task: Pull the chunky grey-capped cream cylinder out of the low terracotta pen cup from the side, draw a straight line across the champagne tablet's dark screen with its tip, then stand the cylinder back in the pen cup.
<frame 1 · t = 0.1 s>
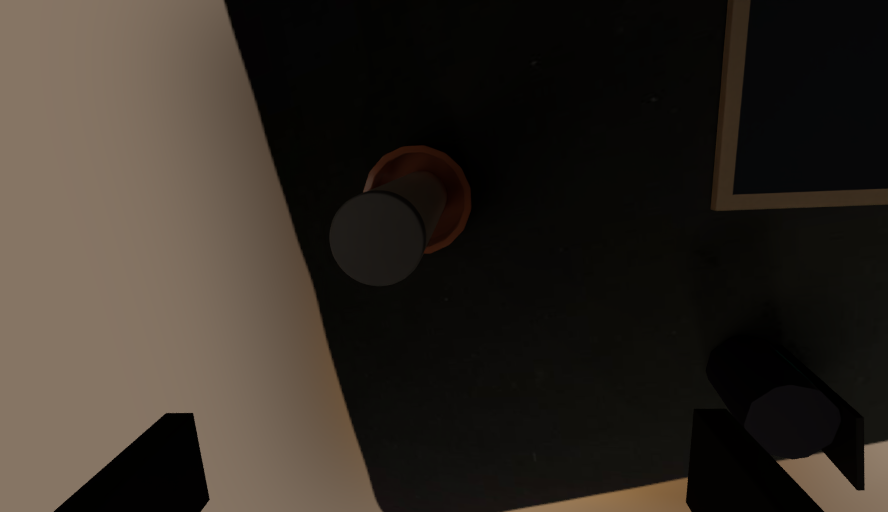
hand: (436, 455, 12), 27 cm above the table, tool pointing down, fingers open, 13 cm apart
pen cup: (422, 195, 37), on the table
tablet: (847, 36, 33), on the table
grey-capped cream cylinder: (421, 196, 37), point 1 cm above the table, touching pen cup
speaker: (738, 371, 39), on the table
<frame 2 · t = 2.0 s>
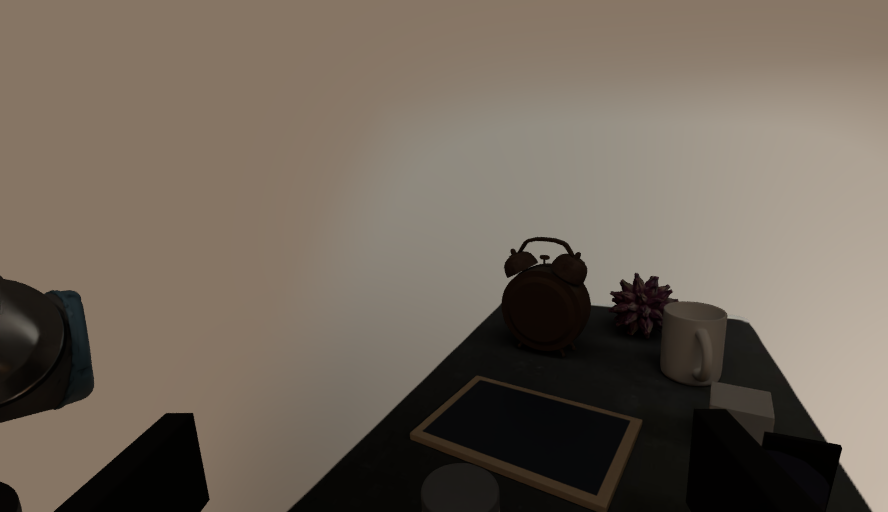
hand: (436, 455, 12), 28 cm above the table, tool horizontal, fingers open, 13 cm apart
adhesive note: (735, 445, 55), on the table
tablet: (526, 432, 59), on the table
alarm clock: (545, 350, 82), on the table
flower: (640, 335, 86), on the table
mug: (692, 381, 69), on the table
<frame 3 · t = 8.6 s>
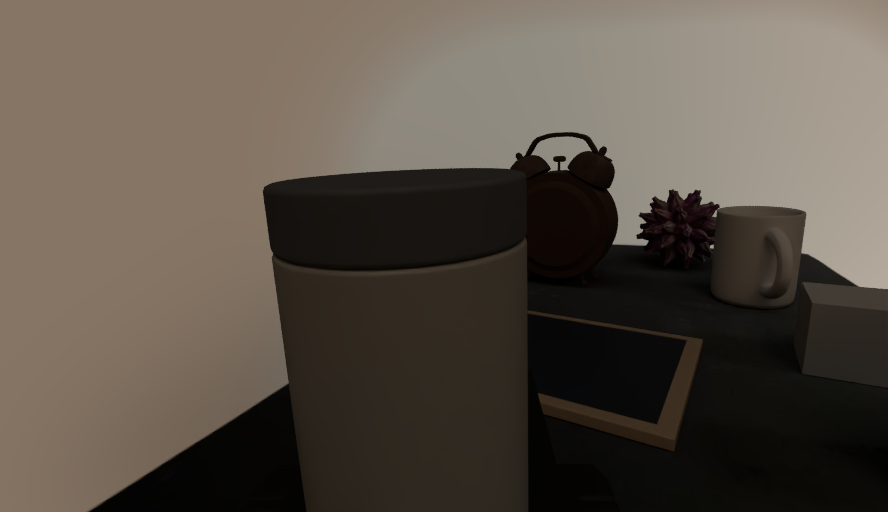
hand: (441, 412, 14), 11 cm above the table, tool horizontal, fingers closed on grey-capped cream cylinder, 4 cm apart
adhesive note: (842, 367, 38), on the table
tablet: (542, 357, 42), on the table
alarm clock: (559, 281, 65), on the table
flower: (676, 267, 69), on the table
mug: (756, 305, 53), on the table
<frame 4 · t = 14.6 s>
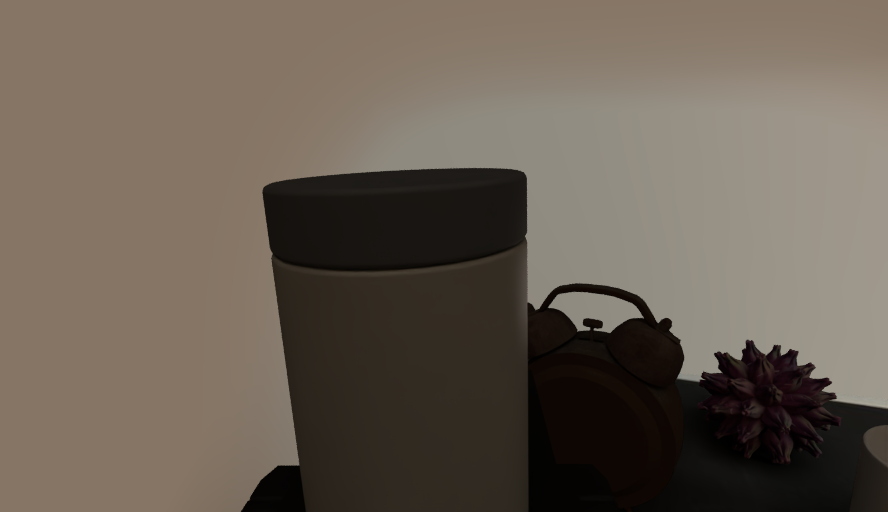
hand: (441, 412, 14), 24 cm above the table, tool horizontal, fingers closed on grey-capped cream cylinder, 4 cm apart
alarm clock: (590, 492, 43), on the table
flower: (757, 451, 48), on the table
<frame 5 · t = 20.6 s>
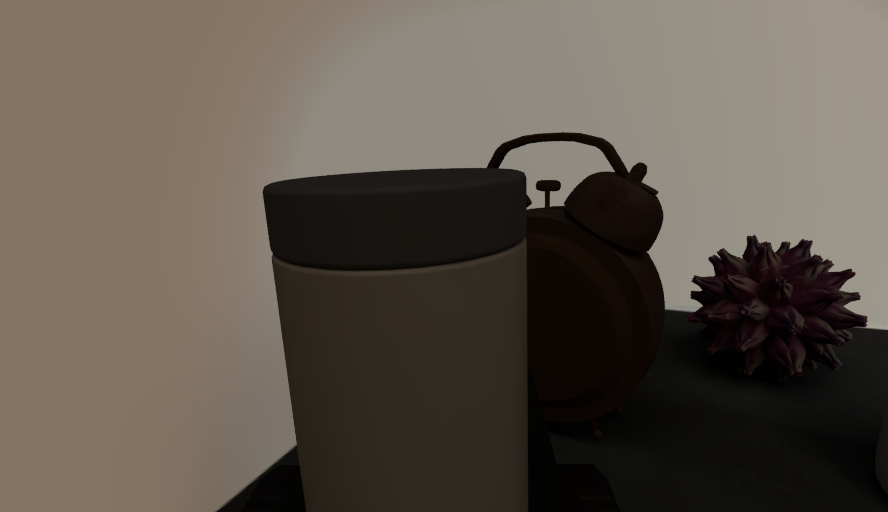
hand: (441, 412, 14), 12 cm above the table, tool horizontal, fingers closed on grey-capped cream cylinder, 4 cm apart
alarm clock: (549, 412, 35), on the table
flower: (760, 373, 39), on the table
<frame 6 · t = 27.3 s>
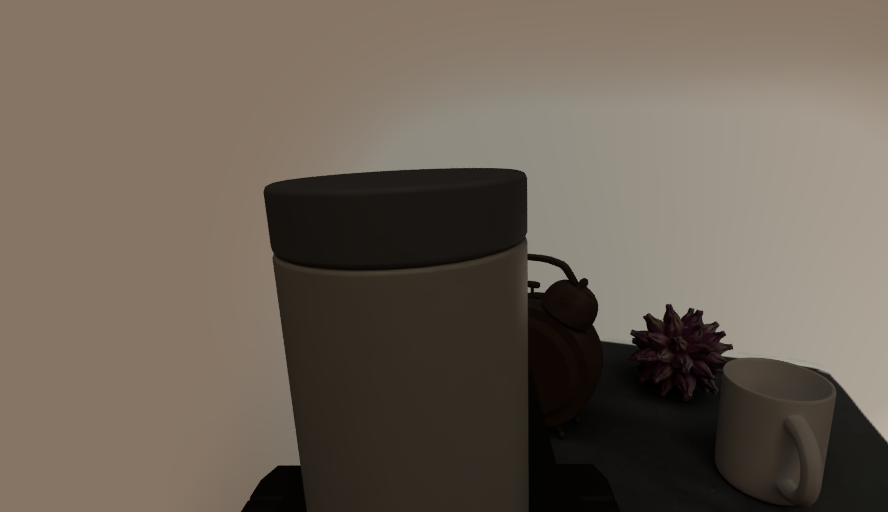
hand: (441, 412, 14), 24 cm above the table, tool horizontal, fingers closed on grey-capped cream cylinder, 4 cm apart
alarm clock: (535, 420, 55), on the table
flower: (674, 394, 59), on the table
mug: (771, 492, 42), on the table
when the fingers open (11 cm above the table, at t = 32.9 s): grey-capped cream cylinder stays where it is, resting on pen cup.
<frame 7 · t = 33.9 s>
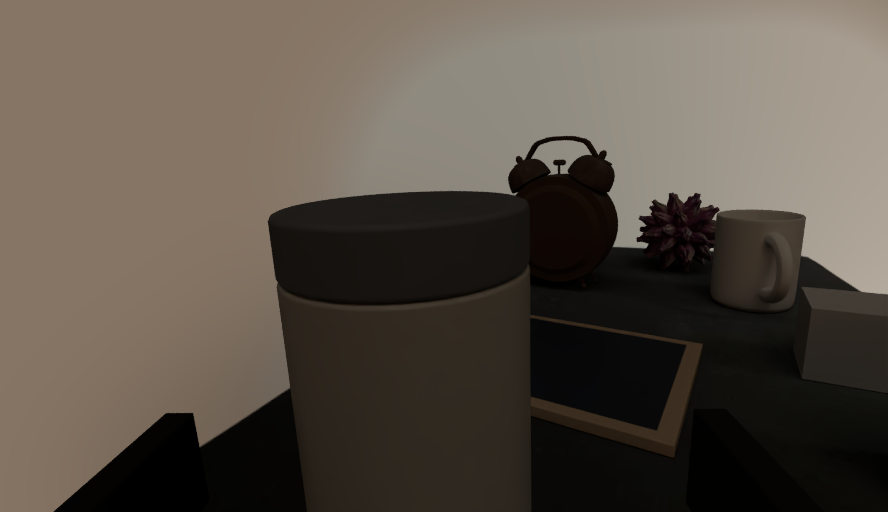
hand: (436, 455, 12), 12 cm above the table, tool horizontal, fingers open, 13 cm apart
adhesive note: (841, 372, 38), on the table
tablet: (542, 362, 42), on the table
alarm clock: (559, 284, 65), on the table
flower: (676, 270, 70), on the table
mug: (756, 309, 53), on the table
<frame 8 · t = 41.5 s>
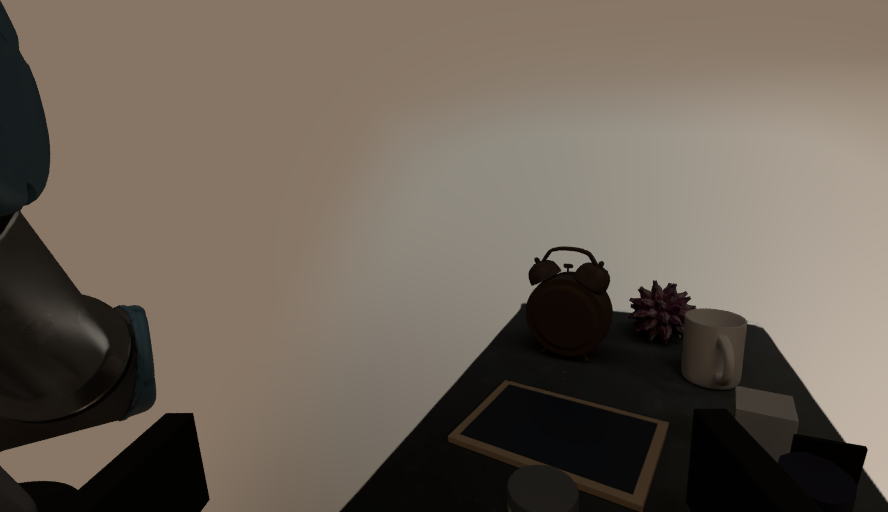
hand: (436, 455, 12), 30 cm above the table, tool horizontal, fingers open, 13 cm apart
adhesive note: (759, 447, 58), on the table
tablet: (559, 435, 61), on the table
alarm clock: (568, 355, 85), on the table
flower: (659, 340, 89), on the table
mug: (713, 385, 72), on the table
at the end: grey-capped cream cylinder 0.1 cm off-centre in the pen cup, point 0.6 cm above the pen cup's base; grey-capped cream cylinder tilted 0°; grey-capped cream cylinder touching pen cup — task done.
